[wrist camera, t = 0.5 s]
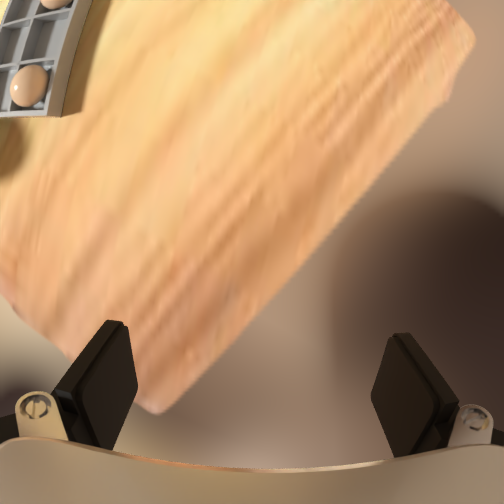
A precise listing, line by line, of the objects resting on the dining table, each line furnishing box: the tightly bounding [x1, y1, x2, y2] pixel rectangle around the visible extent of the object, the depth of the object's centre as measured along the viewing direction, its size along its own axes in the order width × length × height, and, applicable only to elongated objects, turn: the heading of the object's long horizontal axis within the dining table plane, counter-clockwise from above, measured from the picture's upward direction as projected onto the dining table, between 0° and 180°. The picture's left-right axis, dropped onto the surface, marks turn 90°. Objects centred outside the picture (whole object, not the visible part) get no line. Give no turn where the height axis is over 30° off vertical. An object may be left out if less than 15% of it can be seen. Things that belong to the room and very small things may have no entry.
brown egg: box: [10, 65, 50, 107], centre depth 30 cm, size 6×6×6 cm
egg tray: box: [0, 0, 92, 118], centre depth 29 cm, size 24×16×4 cm
